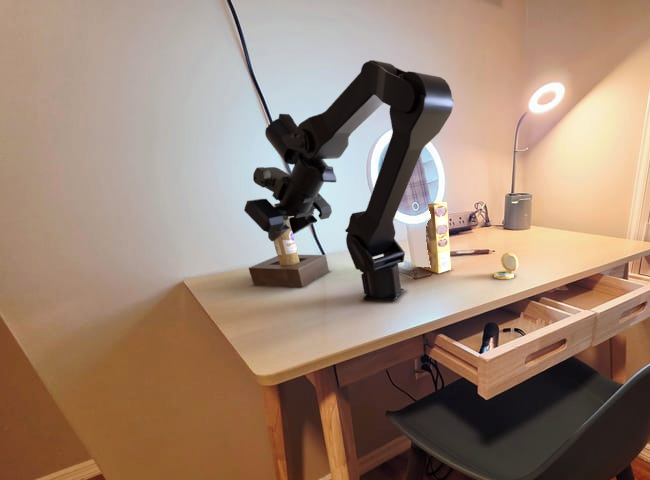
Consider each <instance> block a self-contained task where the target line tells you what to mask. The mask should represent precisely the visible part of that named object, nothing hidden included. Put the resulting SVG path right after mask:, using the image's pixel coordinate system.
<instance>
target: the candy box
mask: <svg viewBox="0 0 650 480" xmlns="http://www.w3.org/2000/svg"><path fill="white" fill-rule="evenodd" d="M438 202H439V203H431V204H428V207H429V211H430V214H431V219H430V220H429V221H428V223H427V226H426V242H427V250H428V255H429V261H430V265H431V268H430V267H424V268H422V269H423V270H426V271H430V272H433V273H436V274H442V273H444V272H447V271H451V252H450V233H449V217H448V215H449V214H448V213H449V212H448V202H445V201H438Z"/></svg>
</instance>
